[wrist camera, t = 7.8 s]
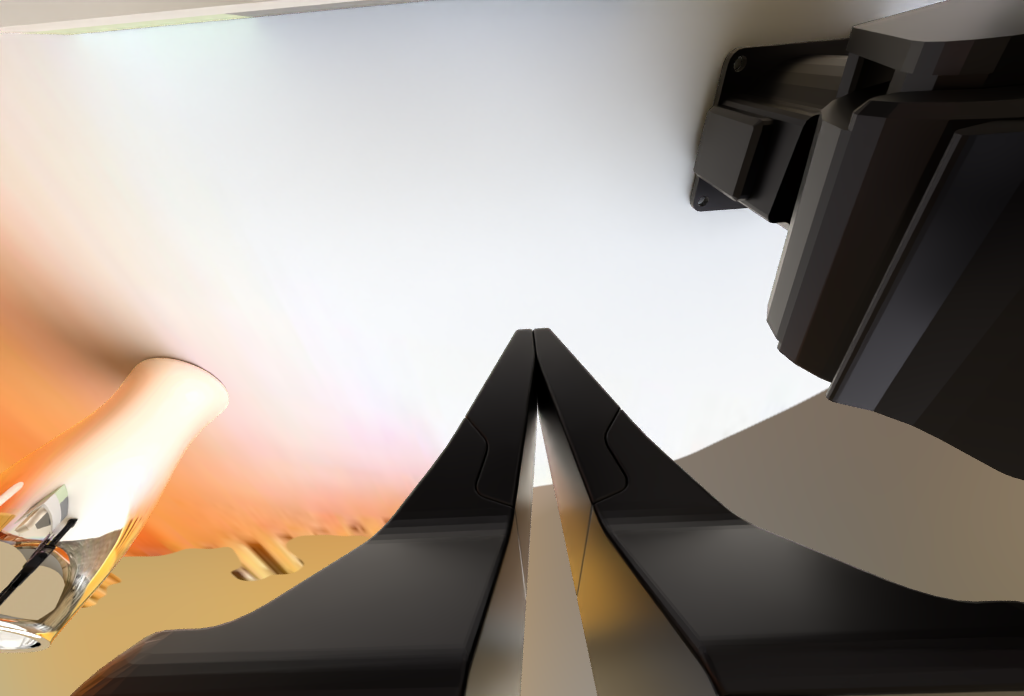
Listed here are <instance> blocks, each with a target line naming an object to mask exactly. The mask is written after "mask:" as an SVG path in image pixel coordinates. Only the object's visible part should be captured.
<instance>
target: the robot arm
mask: <svg viewBox="0 0 1024 696" xmlns="http://www.w3.org/2000/svg"><path fill="white" fill-rule="evenodd" d="M740 56H741V58H742V63H741V65H740V67H739V68H738V69H737V70H734V63H735V60H736V59H737V58H738V57H740ZM694 172H695V173H696V178H695V182H694V187H693V191H692V195H691V199H690V204H691V206H692V207H693V208H694V209H695V210H697V211H713V210H727V209H740V208H749V209H750V210H752V211H753V212H755V213H756V214H758V215H759V216H761V217H762V218H764V219H765V220H767V221H768V222H770V223H777V224H779V225H780V226H782V227H783V228H785V229H786V230H788V233H787V236H786V240H785V244H784V247H783V251H782V255H781V258H780V262H779V266H778V269H777V273H776V277H775V280H774V284H773V288H772V291H771V295H770V299H769V302H768V308H767V322H768V324H769V326H770V328H771V330H772V332H773V334H774V335H775V337H776V339H777V340H778V341H779V343H778V347H777V348H778V350H779V351H780V352H781V353H782V354H783V355H785V356H786V357H787V358H788V359H789V360H791V361H792V362H793V363H794V364H796V365H798V366H799V367H801V368H803V369H805V370H806V371H808V372H810V373H812V374H814V375H815V376H817V377H819V378H821V379H823V380H826V381H828V382H831V385H830V387H829V389H828V391H827V393H826V397H827V398H828V399H829V400H831V401H832V402H836V403H840V404H845V405H849V406H853V407H857V408H862V409H867V410H871V411H874V412H877V413H880V414H882V415H885V416H888V417H890V418H893V419H896V420H899V421H901V422H904V423H907V424H909V425H912V426H914V427H916V428H918V429H921V430H922V431H925V432H926V433H928V434H931V435H933V436H935V437H937V438H939V439H941V440H943V441H944V442H946V443H948V444H950V445H952V446H954V447H955V448H957V449H959V450H961V451H963V452H964V453H966V454H968V455H970V456H972V457H974V458H975V459H977V460H979V461H981V462H983V463H985V464H987V465H988V466H990V467H992V468H994V469H996V470H998V471H1000V472H1002V473H1004V474H1006V475H1009V476H1012V477H1014V478H1018V479H1022V480H1024V0H947V1H943V2H939V3H936V4H932V5H928V6H925V7H921V8H917V9H914V10H910V11H907V12H903V13H899V14H896V15H892V16H888V17H885V18H881V19H877V20H874V21H870V22H866V23H863V24H859V25H856V26H853V27H852V31H851V34H850V38H845V39H833V40H822V41H811V42H799V43H788V44H777V45H765V46H754V47H743V48H737V49H734V50H733V51H732V52H730V53H729V55H728V56H727V57H726V59H725V61H724V64H723V67H722V72H721V76H720V80H719V84H718V88H717V92H716V96H715V100H714V104H713V107H712V108H711V109H710V110H709V111H708V113H707V116H706V120H705V124H704V128H703V133H702V137H701V141H700V145H699V149H698V154H697V158H696V162H695V166H694ZM704 196H705V200H704V201H703V202H702V203H701V204H698V201H699V199H700V198H702V197H704ZM537 406H538V414H539V420H540V424H541V429H542V434H543V439H544V443H545V448H546V453H547V458H548V462H549V467H550V472H551V477H552V481H553V486H554V491H555V495H556V500H557V505H558V510H559V515H560V519H561V524H562V529H563V533H564V538H565V543H566V548H567V553H568V557H569V562H570V567H571V572H572V576H573V581H574V586H575V591H576V595H577V597H578V598H577V601H578V605H579V610H580V615H581V620H582V624H583V629H584V634H585V639H586V643H587V648H588V653H589V658H590V662H591V667H592V672H593V677H594V681H595V686H596V690H597V696H1024V602H1019V601H979V602H972V601H957V600H953V599H948V598H943V597H938V596H934V595H930V594H927V593H923V592H920V591H916V590H913V589H910V588H907V587H904V586H902V585H899V584H897V583H894V582H891V581H889V580H886V579H884V578H881V577H879V576H876V575H874V574H871V573H869V572H867V571H864V570H862V569H859V568H857V567H855V566H852V565H850V564H847V563H845V562H842V561H840V560H838V559H835V558H833V557H830V556H828V555H825V554H823V553H821V552H818V551H816V550H813V549H811V548H808V547H806V546H804V545H801V544H799V543H796V542H794V541H791V540H789V539H786V538H784V537H781V536H779V535H777V534H774V533H772V532H769V531H767V530H765V529H762V528H760V527H757V526H755V525H753V524H752V523H750V522H748V521H746V520H744V519H743V518H741V517H740V516H738V515H736V514H735V513H733V512H732V511H731V510H729V509H728V508H727V507H725V506H724V505H723V504H722V503H720V502H719V501H718V500H717V499H716V498H715V497H713V496H712V495H711V494H710V493H709V492H708V491H707V490H706V489H704V488H703V487H702V486H701V485H700V484H699V483H698V482H697V481H695V480H694V479H693V478H692V477H691V476H690V475H689V474H688V473H686V472H685V471H684V470H683V469H682V468H681V467H680V466H679V465H677V464H676V463H675V462H674V461H673V460H672V459H671V458H670V457H669V456H668V455H666V454H665V453H664V452H663V451H662V450H661V449H660V448H659V447H658V446H657V445H656V444H655V443H654V442H653V441H651V440H650V439H649V438H648V437H647V436H646V435H645V434H644V433H643V431H642V430H641V429H640V428H639V427H638V426H637V425H636V424H635V423H634V422H633V421H632V420H631V419H630V418H629V417H628V415H627V414H626V413H625V412H624V411H623V410H621V408H620V407H619V405H618V404H617V403H616V402H615V401H614V400H613V399H612V398H611V397H610V395H609V394H608V393H607V392H606V391H605V390H604V389H603V388H602V386H601V385H600V384H599V383H598V382H597V381H596V380H595V379H594V378H593V376H592V375H591V374H590V373H589V372H588V371H587V370H586V369H585V367H584V366H583V365H582V364H581V363H580V362H579V361H578V360H577V359H576V357H575V356H574V355H573V354H572V353H571V352H570V351H569V350H568V348H567V347H566V346H565V345H564V344H563V343H562V342H561V341H560V340H559V338H558V337H557V336H556V335H555V334H554V333H553V332H552V331H551V329H549V328H537V329H534V330H533V331H532V330H531V329H520V330H517V331H516V332H515V333H514V335H513V337H512V338H511V340H510V342H509V343H508V345H507V347H506V348H505V350H504V352H503V354H502V355H501V357H500V359H499V360H498V362H497V364H496V365H495V367H494V369H493V370H492V372H491V374H490V375H489V377H488V379H487V380H486V382H485V384H484V386H483V387H482V389H481V391H480V392H479V394H478V396H477V397H476V399H475V401H474V402H473V404H472V406H471V407H470V409H469V411H468V412H467V414H466V416H465V417H466V418H464V419H463V421H462V422H461V424H460V426H459V427H458V429H457V431H456V432H455V434H454V435H453V437H452V438H451V440H450V442H449V443H448V445H447V446H446V448H445V449H444V450H443V452H442V453H441V454H440V456H439V457H438V459H437V460H436V461H435V463H434V464H433V465H432V467H431V468H430V469H429V470H428V472H427V473H426V474H425V476H424V477H423V478H422V479H421V481H420V482H419V483H418V485H417V486H416V487H415V488H414V490H413V491H412V492H411V494H410V495H409V496H408V497H407V499H406V500H405V501H404V502H403V504H402V505H401V506H400V508H399V509H398V510H397V511H396V513H395V514H394V515H393V516H392V518H391V519H390V520H389V521H388V522H387V523H386V524H385V525H384V526H383V528H382V529H380V530H379V531H378V532H377V533H376V534H375V535H374V536H373V537H371V538H370V539H369V540H368V541H367V542H365V543H363V544H362V545H360V546H359V547H357V548H356V549H354V550H353V551H351V552H349V553H348V554H346V555H344V556H343V557H341V558H340V559H338V560H336V561H335V562H333V563H331V564H330V565H329V566H327V567H325V568H323V569H322V570H320V571H319V572H317V573H315V574H314V575H312V576H311V577H309V578H307V579H306V580H304V581H303V582H301V583H299V584H298V585H296V586H295V587H293V588H291V589H290V590H288V591H286V592H285V593H283V594H282V595H280V596H278V597H277V598H275V599H274V600H272V601H270V602H269V603H267V604H265V605H264V606H262V607H260V608H259V609H256V610H255V611H253V612H251V613H249V614H247V615H244V616H242V617H240V618H238V619H235V620H233V621H230V622H227V623H224V624H221V625H218V626H214V627H208V628H201V629H177V630H165V631H160V632H155V633H153V634H151V635H149V636H147V637H145V638H143V639H142V640H141V641H139V642H138V643H136V644H135V645H133V646H132V647H130V648H129V649H128V650H126V651H125V652H123V653H122V654H120V655H118V656H117V657H116V658H115V659H113V660H112V661H110V662H109V663H108V664H106V665H105V666H104V667H102V668H101V669H99V671H97V672H96V673H95V674H94V675H93V676H91V677H90V678H89V679H88V680H87V681H85V682H84V683H83V684H82V685H81V686H80V687H79V688H78V689H77V690H75V692H73V693H72V694H71V696H520V692H521V676H522V660H523V659H522V658H523V642H524V627H525V611H526V594H527V577H528V560H529V544H530V528H531V512H532V494H533V479H534V462H535V446H536V430H537Z"/></svg>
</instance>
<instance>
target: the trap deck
mask: <svg viewBox="0 0 1024 696" xmlns="http://www.w3.org/2000/svg"><path fill="white" fill-rule="evenodd" d="M419 1H429V0H0V33H21V34H62V35H73V34H83V33H93V32H104V31H114V30H125V29H135V28H146V27H156V26H167V25H177V24H188V23H198V22H209V21H219V20H230V19H240V18H251V17H261V16H272V15H282V14H293V13H303V12H314V11H324V10H335V9H345V8H356V7H366V6H377V5H387V4H398V3H408V2H419Z"/></svg>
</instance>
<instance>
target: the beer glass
mask: <svg viewBox="0 0 1024 696" xmlns="http://www.w3.org/2000/svg"><path fill="white" fill-rule="evenodd" d="M228 404H229V395H228V392H227V390H226V388H225V387H224V386H223V384H222V383H221V382H220V381H219V380H218V379H217V378H215V377H214V376H213V375H211V374H210V373H208V372H207V371H205V370H203V369H201V368H199V367H197V366H195V365H192V364H190V363H187V362H184V361H180V360H176V359H170V358H151V359H147V360H144V361H142V362H140V363H139V364H137V365H136V366H135V367H134V369H133V370H132V371H131V372H130V374H129V375H128V376H127V378H126V379H125V380H124V382H123V383H122V384H121V386H120V387H119V388H118V390H117V391H116V392H115V393H114V394H113V396H111V397H110V398H109V399H108V400H107V401H106V402H105V403H104V404H103V405H102V406H101V407H99V408H98V409H97V410H96V411H94V412H93V413H92V414H91V415H89V416H88V417H86V418H85V419H83V420H82V421H80V422H79V423H77V424H76V425H74V426H73V427H71V428H69V429H68V430H66V431H65V432H63V433H62V434H60V435H58V436H57V437H55V438H54V439H52V440H51V441H49V442H47V443H46V444H44V445H43V446H41V447H40V448H38V449H37V450H35V451H33V452H32V453H30V454H29V455H27V456H26V457H24V458H23V459H21V460H20V461H18V462H16V463H15V464H14V465H12V466H11V467H9V468H8V469H6V470H5V471H4V472H2V473H1V474H0V653H23V652H35V651H40V650H44V649H46V648H48V647H49V646H50V645H51V643H52V642H53V640H54V639H55V638H56V637H57V635H58V634H59V633H60V632H61V631H62V629H63V628H64V627H65V626H66V625H67V623H68V622H69V621H70V620H71V619H72V618H73V616H74V615H75V614H76V613H77V612H78V611H79V609H80V608H81V607H82V606H83V605H84V604H85V603H86V601H87V600H88V599H89V598H90V597H91V595H92V594H93V593H94V592H95V591H96V590H97V588H98V587H99V586H100V585H101V584H102V582H103V581H104V580H105V579H106V577H107V576H108V575H109V574H110V572H111V571H112V570H113V568H114V567H115V566H116V565H117V563H118V562H119V561H120V560H121V558H122V557H123V556H124V554H125V553H126V552H127V550H128V549H129V547H130V546H131V545H132V543H133V542H134V540H135V539H136V538H137V536H138V535H139V533H140V532H141V530H142V529H143V527H144V525H145V524H146V522H147V520H148V519H149V517H150V515H151V514H152V512H153V510H154V509H155V507H156V505H157V503H158V501H159V499H160V497H161V496H162V494H163V492H164V490H165V488H166V486H167V484H168V482H169V480H170V478H171V477H172V475H173V473H174V471H175V469H176V467H177V465H178V463H179V461H180V460H181V458H182V456H183V454H184V452H185V451H186V450H187V448H188V447H189V445H190V444H191V442H192V441H193V440H194V439H195V438H196V436H197V435H198V434H199V433H200V432H201V431H202V430H203V429H204V428H205V427H206V426H207V425H208V424H210V423H211V422H212V421H213V420H214V419H215V418H216V417H218V416H219V415H220V414H221V413H222V412H223V411H224V410H225V409H226V408H227V406H228Z"/></svg>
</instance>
